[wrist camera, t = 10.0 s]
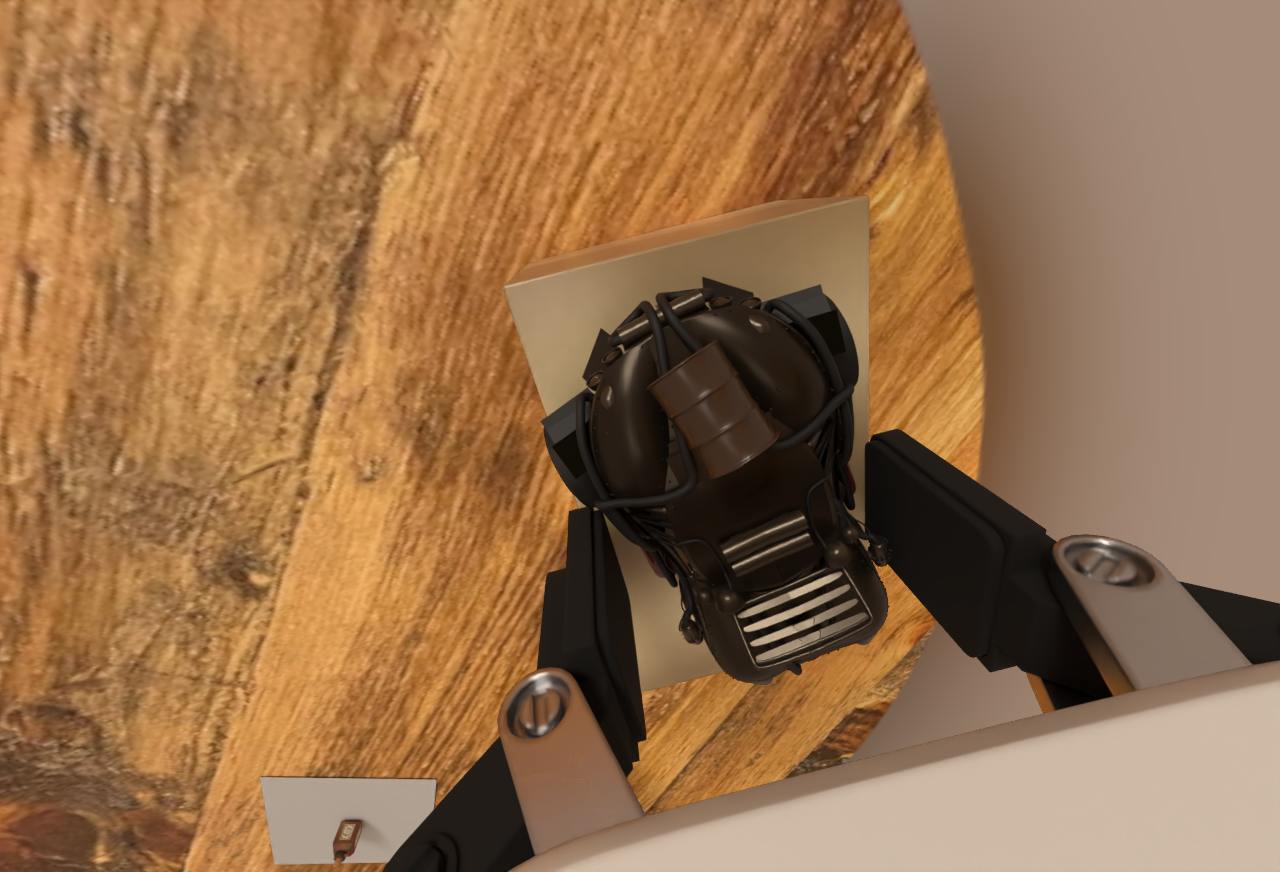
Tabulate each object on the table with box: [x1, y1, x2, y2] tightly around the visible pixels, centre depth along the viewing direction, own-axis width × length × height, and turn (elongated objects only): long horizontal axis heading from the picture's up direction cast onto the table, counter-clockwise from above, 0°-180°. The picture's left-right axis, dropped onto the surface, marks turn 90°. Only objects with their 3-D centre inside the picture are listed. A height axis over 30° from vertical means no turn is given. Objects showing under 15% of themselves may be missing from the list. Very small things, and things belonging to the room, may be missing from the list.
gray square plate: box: [260, 777, 436, 867], centre depth 24 cm, size 8×8×2 cm
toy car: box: [541, 277, 893, 741], centre depth 10 cm, size 6×12×4 cm, turn 25°
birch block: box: [503, 195, 869, 692], centre depth 14 cm, size 13×8×5 cm, turn 13°
